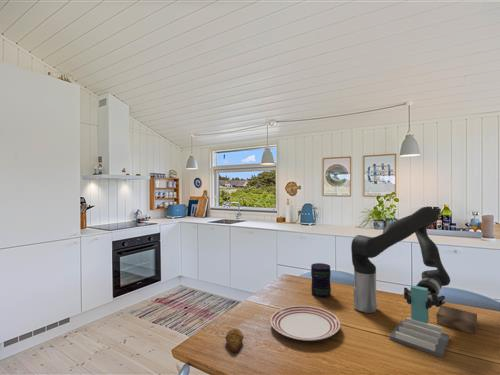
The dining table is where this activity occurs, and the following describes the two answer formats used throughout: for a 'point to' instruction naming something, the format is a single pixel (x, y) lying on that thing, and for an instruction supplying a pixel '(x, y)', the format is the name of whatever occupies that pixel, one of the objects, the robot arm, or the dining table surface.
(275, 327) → the dinner plate
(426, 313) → the block
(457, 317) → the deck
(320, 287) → the storage jar
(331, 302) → the dining table surface
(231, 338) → the brown oval lump
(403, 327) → the slotted rack
